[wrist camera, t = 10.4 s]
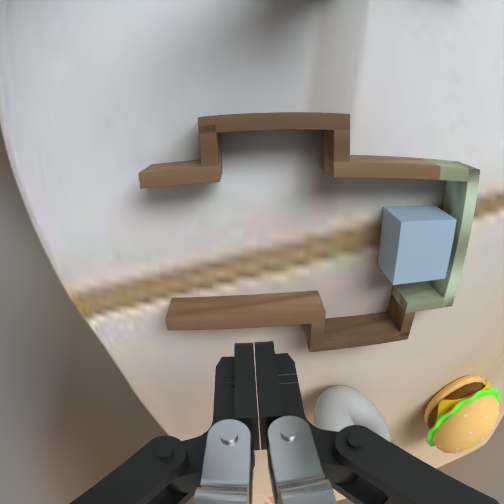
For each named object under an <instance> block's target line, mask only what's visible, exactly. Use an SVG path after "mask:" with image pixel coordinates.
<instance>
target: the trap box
mask: <svg viewBox="0 0 504 504" xmlns="http://www.w3.org/2000/svg"><path fill="white" fill-rule="evenodd" d="M198 126H199V140H200V153H201V160H192V161H182V162H171V163H162V164H153V165H150V166H149V167H147V168H146V169H144V170H142V171H141V172H140V173H139V181H140V188H141V189H142V188H151V187H161V186H172V185H183V184H196V183H209V182H220V179H221V175H222V159H221V144H220V132H233V131H252V130H285V129H322V137H323V167H322V169H324V170H325V171H326V172H327V173H329V174H330V175H331V176H332V177H334V178H405V179H430V180H446V183H445V192H444V200H443V208H442V210H443V211H444V212H446V213H447V214H449V215H450V216H452V217H453V218H455V219H456V220H457V221H456V227H455V233H454V239H453V244H452V249H451V254H450V259H449V264H448V268H447V273H446V277H445V279H438V280H430V281H422V282H414V283H406V284H398V285H394V286H393V291H392V296H391V301H390V306H389V311H388V312H384V313H376V314H368V315H359V316H349V317H339V318H329V319H325V314H326V311H325V309H324V306H323V303H322V301H321V298H320V295H319V293H318V291H307V292H292V293H276V294H259V295H240V296H218V297H192V298H172V301H171V304H170V307H169V310H168V313H167V316H166V324H167V328H168V330H203V329H233V328H254V327H271V326H286V325H299V324H304V332H305V336H306V340H307V344H308V348H309V352H315V351H325V350H334V349H343V348H351V347H359V346H366V345H373V344H380V343H387V342H393V341H399V340H405V339H408V336H409V333H410V329H411V326H412V322H413V319H414V315H415V312H416V311H423V310H430V309H436V308H442V307H448V306H452V304H453V300H454V297H455V294H456V290H457V287H458V283H459V279H460V276H461V272H462V268H463V264H464V260H465V256H466V251H467V247H468V242H469V237H470V232H471V227H472V222H473V216H474V210H475V204H476V198H477V190H478V183H479V174H480V170H479V169H477V168H474V167H471V166H469V165H466V164H463V163H461V162H456V161H446V160H435V159H423V158H408V157H390V156H366V155H350V114H340V113H303V112H290V113H251V114H232V115H217V116H205V117H199V118H198Z"/></svg>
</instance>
